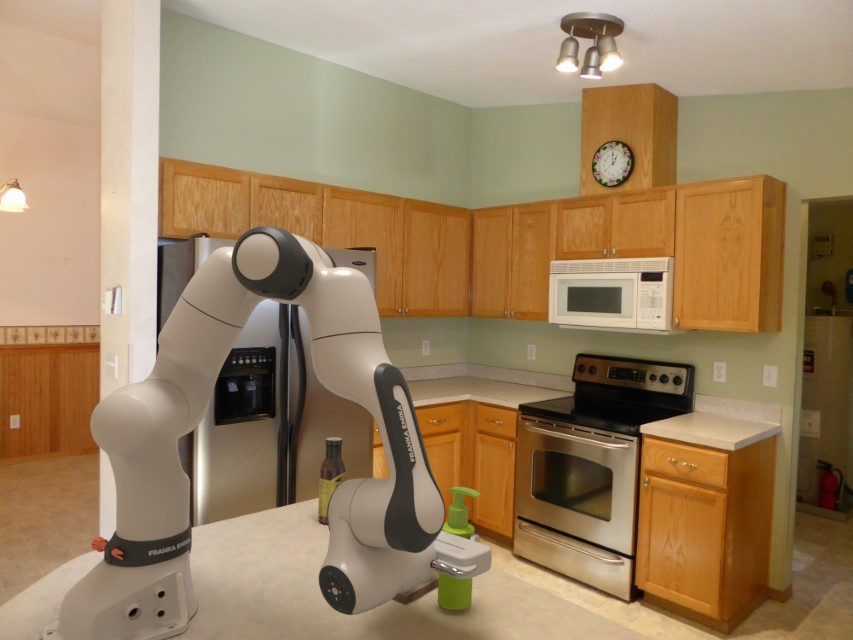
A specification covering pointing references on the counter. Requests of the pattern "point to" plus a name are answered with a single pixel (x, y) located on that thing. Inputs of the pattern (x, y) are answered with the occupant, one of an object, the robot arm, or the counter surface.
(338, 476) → the sauce bottle
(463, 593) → the soap dispenser
